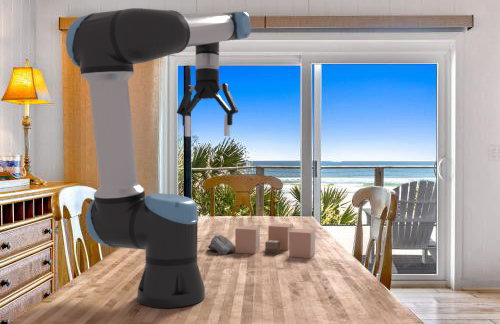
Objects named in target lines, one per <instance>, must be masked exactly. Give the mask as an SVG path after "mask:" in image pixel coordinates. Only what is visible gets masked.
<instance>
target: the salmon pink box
mask: <svg viewBox="0 0 500 324" xmlns="http://www.w3.org/2000/svg"><path fill="white" fill-rule="evenodd" d="M315 238H316V230H315V229H307V228H306V229H305V228H293V230H292V231H290V232H289V250H288V251H289V252H288V253H289V254H288V255H289V258H290V257H291V258H303V259H304V258H305V259H312V258H313V256H315V255H316V248H315V247H316V239H315Z"/></svg>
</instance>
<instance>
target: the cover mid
mask: <svg viewBox="0 0 500 324" xmlns="http://www.w3.org/2000/svg"><path fill="white" fill-rule="evenodd" d="M267 226H268V229H267V230H268V231H267V232H268V236H267V237H268V239H267V241H268V240H274V241H280V251H289V232H290V231H292V230H293V229H294V228H293V224H292V223H277V222H275V223H272V224H269V225H267Z"/></svg>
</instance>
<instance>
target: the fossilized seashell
mask: <svg viewBox="0 0 500 324" xmlns="http://www.w3.org/2000/svg"><path fill="white" fill-rule="evenodd" d="M207 248H208V249H210V250H212V251H216V252H217V254H218V255H221V256H222V255H227V254H228V253H231V254H234V253H235V243H233V242H232V241H231V240H230V239H229V238H227V237H226V236H223V235H220V234H219V235H214V237H212V239H211V241H210V244H209V245H208V246H207Z"/></svg>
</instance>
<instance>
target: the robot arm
mask: <svg viewBox="0 0 500 324" xmlns="http://www.w3.org/2000/svg"><path fill="white" fill-rule="evenodd" d="M251 25H252V23H251V19H250V16H249V14H248V13H247V12H245V11H243V10H241V11H234V12H223V13H220V12H219V13H218V12H217V13H215V12H214V13H192V14H191V13H190V14H185V13H181V12H179V11H177V10H172V9H171V10H169V9H168V10H167V9H166V10H165V9H155V8H142V7H141V8H140V7H139V8H138V7H134V8H133V7H132V8H125V9H119V10H110V11H103V12H102V11H101V12H94V13H93V12H92V13H90V14H87V15H83V16H79V17H78V18H76V19H74V21H73V22H72V23H71V24H70V26H68V30H67V32H66V36H65V47H66V53H67V56H68V58H69V59H71V62H72V64H73V65H75V66H76V67H77V68H79V69H80V70H79V71H80V77H82V78H83V79H84V80H85V81H86V82H87V83H88V86H89V97H90V105H91V107H90V108H91V116H92V125H93V135H94V143H95V152H96V162H97V172H98V180H99V187H98V188H97V190H96V191H94V194H93V200H92V201H91V202H90V203H89V204H88V207H87V209H88V210H87V211H86V213H85V225H86V229H87V233H88V234H89V236H90V238H92V240H93V241H95V242H96V243H98V244H99V245H102V246H107V247H110V248H117V249H118V248H122V249H123V248H124V249H136V250H144V251H145V265H144V269H143V272H142V275H141V278H140V280H139V284H138V287H137V302H138V303H140V304H141V305H143V306H146V307H151V308H157V309H158V308H159V309H172V308H174V309H175V308H183V307H187V306H188V307H189V306H192V305H195V304H198V303H201V302H202V301H203V300H204V299H205V297H206V293H205V292H206V289H205V284H204V281H203V278H202V274H201V271H200V268H199V266H198V227H199V226H198V223H199V216H198V206H197V203H196V202H195V200H194V199H192V198H190V197H187V196H183V195H178V194H174V193H170V194H169V193H159V192H158V193H149V194H147V195H146V193H145V192H146V191H145V187H143V186H142V185H141V184H140V183H139V182H138V175H137V164H136V153H135V145H134V144H135V142H134V134H133V131H134V130H133V122H132V111H131V102H130V90H129V80H130V79H131V77H132V76H133V75H134V73H135V71H134V65H135V64H137V65H138V64H143V63H147V62H151V61H154V60H158V59H160V58H164V57H168V56H171V55H175V54H179V53H182V52H183V51H184V50H185V49H187V48H190V47H195V62H194V63H195V64H194V66H195V67H194V68H195V69H196V70H195V71H194V72H195V85H190V84H187V85H185V93H184V95H183V97H182V99H181V102H180V104H179V106H178V108H177V111H176V113H177V114H178V115H180V116H182V126H183V127H184V137H188V138H189V137H191V134H192V131H191V127H192V125H191V124H192V119H191V118H192V117H191V116H190V114H191V112H192V111H193V110H194V108H196V106H197V105H198V103H199V102H200V101H202V100H207V99H210V100H212V99H213V100H215V101H216V102H217V103H218V105H219V106H220V107H221V108H222V110H224V112H225V113H226V114H224V115H223V117H224V118H223V120H224V122H223V123H224V124H223V128H224V129H223V130H224V131H223V133H224V135H223V136H225V137H230V135H231V134H230V133H231V129H230V128H231V127H230V126H233V115H235V114H238V113H239V108H238V107H237V105H236V102H235V101H234V98H233V95H232V94H231V92H230V87H229V84H227V83H225V82H224V83H222V84H220V71H219V68H220V42H226V41H235V40H242V39H243V40H244V39H247V38H248V37H249V36H250V34H251V31H252V26H251ZM220 91H222V92H223V95H224V96H225V99H226V101H227V103H228V104H227V103H226V102H225V101H224V100H223V98H222V97H221V95H220V94H219V92H220ZM194 92H195V94H193V93H194ZM193 95H194V96H193ZM192 96H193V98H192V99H191V97H192ZM190 99H191V100H190ZM228 105H229V106H228Z"/></svg>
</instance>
